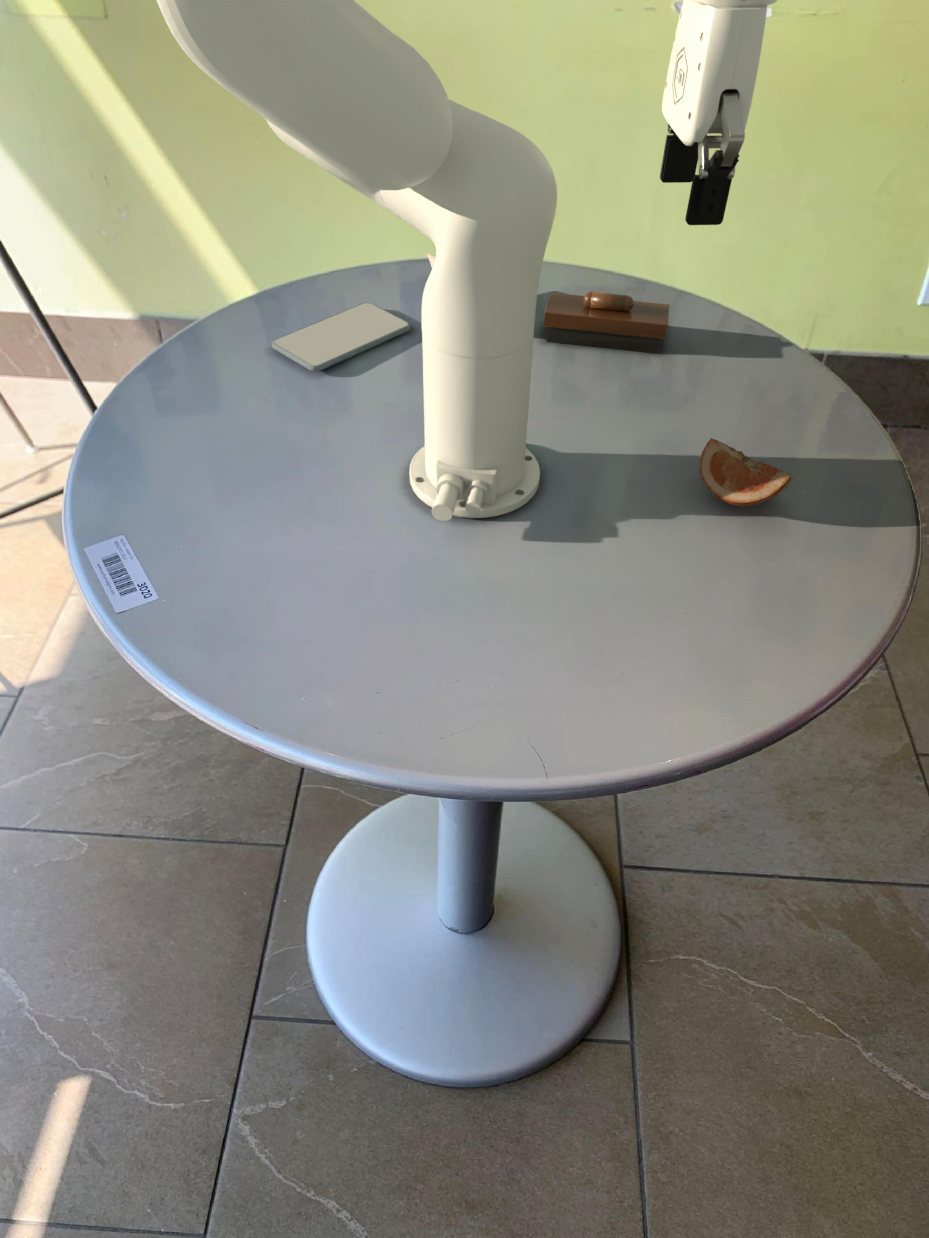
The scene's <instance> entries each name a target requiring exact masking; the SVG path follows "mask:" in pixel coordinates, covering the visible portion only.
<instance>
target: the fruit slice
mask: <svg viewBox="0 0 929 1238" xmlns="http://www.w3.org/2000/svg"><path fill="white" fill-rule="evenodd" d="M699 474H700V477H701V480H702V482H703V483H704V485H705V487H706V488H707V489H708V491H710V493H711V494H712V495H713V496H714V497H715V498H716V499H718V500H720V501H721V502H723V503H725V504H728V505H732V506H736V507H751V506H756V505H758V504H761V503H763V502H766V501H768V500H771V499H773V498H775V497H776V496H778V495H780V494H781V493H782V492H783V490H788V489H789V484H790V483H791V481H792V479H793V477H792V474H790V473H788V472H786V471H783V470H782V469H780V468H778V467H776V466H772V465H771V464H769V463H765V462H763V461H758V460H757V461H756V460H755V459H754V458H750V457H749V456H747V455H745V453H743V451H742V450H737V449H736V448H734V447H732V446H729V445H728V444H726V443H724V442H722V441H719V440H718V439H715V438H712V437H711V438H710V439H709V440H708V441H707V443H706V444H705V446H704V448H703V450H702V451H701V455H700V457H699Z"/></svg>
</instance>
